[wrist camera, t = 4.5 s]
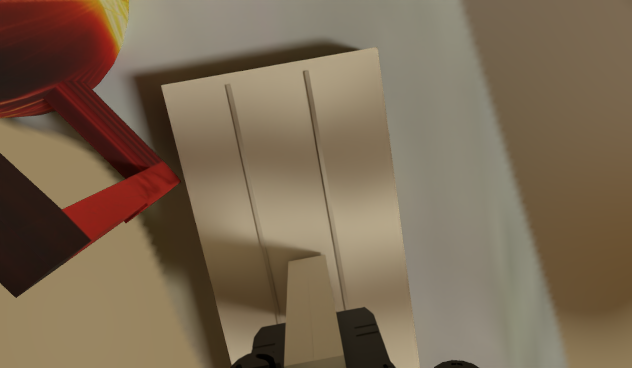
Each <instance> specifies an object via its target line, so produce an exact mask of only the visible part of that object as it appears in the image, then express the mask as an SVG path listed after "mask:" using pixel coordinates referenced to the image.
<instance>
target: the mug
mask: <svg viewBox="0 0 632 368" xmlns="http://www.w3.org/2000/svg"><path fill="white" fill-rule="evenodd" d="M128 14H129V0H0V118H10V117H24V116H36V115H43V114H46V113H49V112H53V111H57V112H58V113H59V114H60V115H61V116H62V117H63V118H64V119H65V120H66V121H67V122H68V123H69V124H70V125H71V126H72V127H73V128H74V129H75V130H76V131H77V132H78V133H79V134H80V135H81V136H82V137H83V138H84V139H85V140H86V141H87V142H88V143H89V144H90V145H91V146H92V147H94V148H95V149H96V150H97V151H98V152H99V153H100V154H101V155H102V156H103V157H104V158H105V159H106V160H107V161H108V162H109V163H110V164H111V165H112V166H113V167H114V168H115V169H116V170H117V171H118V172H119V173H120V174H121V175H122V176H123V177H124V178H125V180H123V181H121V182H119V183H117V184H115V185H112V186H110V187H108V188H106V189H104V190H102V191H100V192H98V193H96V194H94V195H92V196H89V197H87V198H85V199H83V200H81V201H79V202H77V203H75V204H73V205H71V206H68V207H66V208H65V209H60V208H59V207H58V206H57V205H56V204H55V203H54V202H53V201H52V200H51V199H50V198H48V197H47V196H46V195H45V194H44V193H43V192H42V191H41V190H40V189H39V188H38V187H37V186H35V185H34V184H33V183H32V182H31V181H30V180H29V179H28V178H27V177H26V176H25V175H23V174H22V173H21V172H20V171H19V170H18V169H17V168H16V167H15V166H14V165H13V164H11V163H10V162H9V161H8V160H7V159H6V158H5V157H4V156H3V155H2V154H1V153H0V283H1V284H2V285H3V286H4V287H5V288H6V289H7V290H8V291H9V292H10V293H11V294H12V295H13V296H14V297H16V298H17V297H18V296H19V295H21V294H22V293H24V292H25V291H26V290H28V289H29V288H30V287H32V286H33V285H34V284H36V283H37V282H39V281H40V280H42V279H43V278H44V277H46V276H47V275H49V274H50V273H51V272H53V271H54V270H56V269H57V268H58V267H60V266H61V265H63V264H64V263H66V262H67V261H68V260H70V259H71V258H73V257H74V256H75V255H77V254H78V253H79V252H81V251H82V250H84V249H85V248H87V247H88V246H89V245H90V244H92V243H93V242H95V241H96V240H98V239H99V238H101V237H102V236H103V235H105V234H106V233H107V232H109V231H110V230H112V229H113V228H114V227H116V226H117V225H119V224H120V223H121V222H123V221H124V222H125V223H127V222H129V221H130V220H131V219H133V218H134V217H135V216H137V215H138V214H139V213H141V212H142V211H143V210H145V209H146V208H148V207H149V206H150V205H152V204H153V203H154V202H156V201H157V200H158V199H160V198H161V197H162V196H164V195H165V194H166V193H167V192H169V191H170V190H171V189H172V188H174V187H175V186H176V185H177V184H179V183H180V182H181V181H180V179H179V178H178V177H177V176H176V175H175V173H174V172H173V171H172V170H171V169H170V168H169V167H168V166H167V164H166V163H165V162H164V161H163V160H162V159H161V158H160V157H159V156H158V155H157V154H156V153H155V152H154V151H153V150H152V149H151V148H150V147H149V146H148V145H147V144H146V143H145V142H144V141H143V140H142V139H141V138H140V137H139V136H138V135H137V134H136V133H135V132H134V131H133V130H132V129H131V128H130V127H129V126H128V125H127V124H126V123H125V122H124V121H123V120H122V119H121V118H120V117H119V116H118V115H117V114H116V113H115V112H114V111H113V110H112V109H111V108H110V107H109V106H108V105H107V104H106V103H105V102H104V101H103V100H102V99H101V98H100V97H99V96H98V95H97V94H96V93H95V92H94V91H93V90H92V89H93V88H95V87H96V86H97V85H98V84H99V83H100V82H101V80H102V79H103V78H104V76H105V75H106V74H107V72H108V71H109V70H110V68H111V67H112V66H113V64H114V62H115V60H116V58H117V55H118V53H119V51H120V49H121V47H122V44H123V41H124V37H125V32H126V28H127V23H128Z"/></svg>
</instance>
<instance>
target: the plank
mask: <svg viewBox="0 0 632 368" xmlns="http://www.w3.org/2000/svg"><path fill="white" fill-rule="evenodd" d="M161 87H162V91H163V95H164V99H165V103H166V107H167V111H168V115H169V119H170V123H171V127H172V131H173V134H174V138H175V142H176V146H177V150H178V154H179V158H180V162H181V166H182V170H183V174H184V178H185V182H186V186H187V190H188V194H189V198H190V202H191V206H192V210H193V214H194V218H195V222H196V226H197V229H198V233H199V237H200V241H201V245H202V249H203V253H204V257H205V261H206V265H207V269H208V273H209V277H210V281H211V285H212V289H213V293H214V297H215V301H216V305H217V309H218V313H219V317H220V321H221V325H222V328H223V332H224V336H225V340H226V344H227V348H228V352H229V356H230V360H231V364H232V365H233V364H234V363H235V362H236V361H237V360H238V359H239V358H241V357H243V356H245V355H246V354H249V353H251V351H252V346H253V340H254V336H255V335H256V334H257V332H258V331H259V330H260V328H261V327H265V326H270V325H275V324H281V323H286V307H287V282H288V261H294V260H299V259H304V258H310V257H315V256H321V255H325V257H326V262H327V267H328V273H329V278H330V284H331V289H332V294H333V300H334V305H335V310H336V312H340V311H345V310H350V309H356V308H361V307H365V308H367V309H368V310H369V311H371V312H372V313H373V314H374V316H375V319H376V322H377V325H378V328H379V330H380V333H381V336H382V339H383V342H384V344H385V347H386V350H387V353H388V356H389V358H390V361H391V363H393V364H394V366H395V367H396V368H420V366H419V359H418V351H417V343H416V336H415V328H414V321H413V313H412V306H411V298H410V290H409V283H408V275H407V268H406V260H405V253H404V245H403V238H402V230H401V222H400V215H399V207H398V200H397V192H396V185H395V177H394V169H393V162H392V154H391V147H390V139H389V132H388V124H387V117H386V109H385V101H384V94H383V86H382V79H381V71H380V64H379V56H378V48H377V47H375V48H369V49H363V50H358V51H352V52H346V53H341V54H335V55H330V56H324V57H318V58H313V59H307V60H301V61H296V62H290V63H284V64H279V65H273V66H267V67H262V68H256V69H250V70H245V71H239V72H234V73H228V74H222V75H217V76H211V77H205V78H200V79H194V80H188V81H183V82H177V83H171V84H166V85H161Z"/></svg>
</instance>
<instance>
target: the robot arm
mask: <svg viewBox="0 0 632 368" xmlns="http://www.w3.org/2000/svg"><path fill="white" fill-rule="evenodd" d="M231 368H396V367H395V366H394V364H393V363H391V361H390V358H389V356H388V353H387V350H386V347H385V344H384V342H383V339H382V336H381V333H380V330H379V328H378V325H377V322H376V319H375V316H374V314H373V313H372V312H371V311H369V310H368V309H367V308H365V307H361V308H356V309H350V310H345V311H340V312H336V310H335V305H334V300H333V294H332V289H331V284H330V278H329V273H328V267H327V262H326V257H325V255H321V256H315V257H310V258H304V259H299V260H294V261H288V282H287V307H286V323H281V324H275V325H270V326H265V327H261V328H260V330H259V331H258V332H257V334H256V335H255V336H254V340H253V346H252V351H251V353H249V354H246V355H245V356H243V357H241V358H239V359H238V360H237V361H236V362H235V363H234V364H233V365H232V366H231ZM434 368H479V367H477V366H476V365H474V364H472V363H469V362H465V361H457V360H451V361H447V362H442V363H440V364H439V365H437V366H435V367H434Z"/></svg>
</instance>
